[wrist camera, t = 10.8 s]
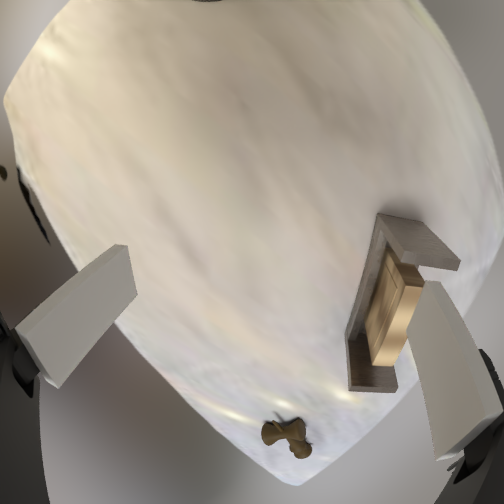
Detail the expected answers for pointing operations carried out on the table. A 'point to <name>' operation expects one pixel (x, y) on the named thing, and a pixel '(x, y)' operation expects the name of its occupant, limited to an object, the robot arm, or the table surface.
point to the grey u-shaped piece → (408, 251)
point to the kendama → (288, 437)
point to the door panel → (391, 308)
